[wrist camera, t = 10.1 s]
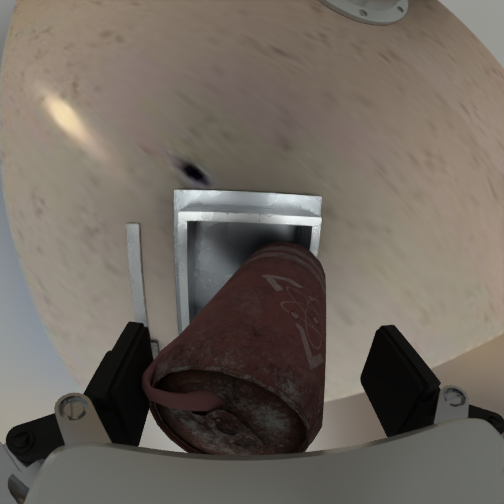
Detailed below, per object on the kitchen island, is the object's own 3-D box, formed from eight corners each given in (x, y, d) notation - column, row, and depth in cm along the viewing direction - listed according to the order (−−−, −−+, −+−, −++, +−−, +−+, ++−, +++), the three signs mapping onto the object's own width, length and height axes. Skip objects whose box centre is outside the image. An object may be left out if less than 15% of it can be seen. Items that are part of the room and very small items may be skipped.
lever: (130, 340, 26) (106, 385, 19) (157, 343, 26) (138, 390, 19) (136, 369, 27) (117, 414, 20) (161, 372, 27) (147, 420, 20)
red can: (249, 229, 20) (125, 325, 7) (335, 252, 19) (355, 398, 6) (233, 303, 22) (137, 438, 9) (312, 325, 21) (286, 490, 8)
